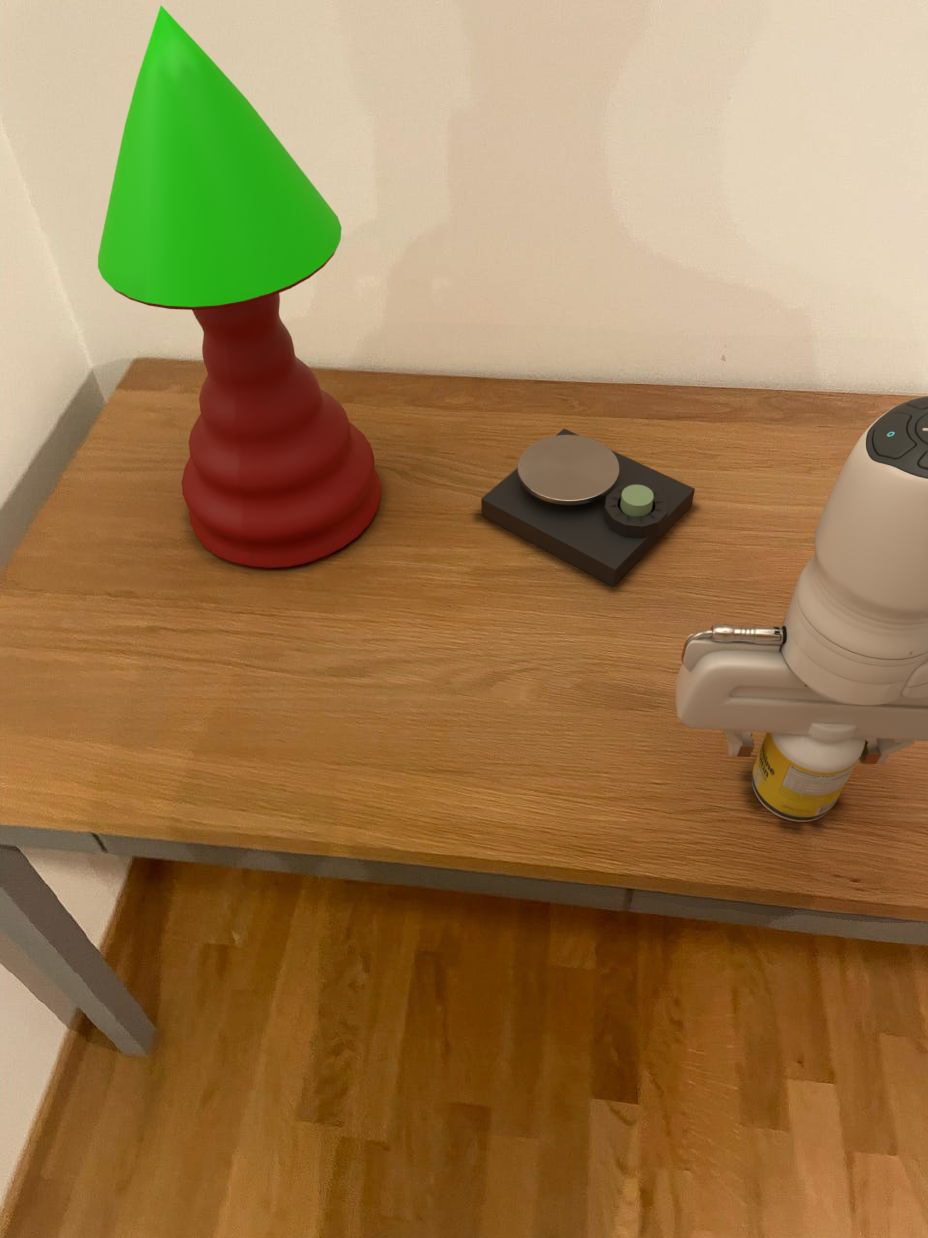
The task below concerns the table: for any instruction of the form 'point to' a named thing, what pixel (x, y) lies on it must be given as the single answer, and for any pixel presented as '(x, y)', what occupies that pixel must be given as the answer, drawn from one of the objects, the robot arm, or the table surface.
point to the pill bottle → (805, 770)
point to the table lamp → (236, 308)
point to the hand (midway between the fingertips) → (803, 752)
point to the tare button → (636, 500)
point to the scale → (592, 520)
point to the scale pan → (568, 469)
